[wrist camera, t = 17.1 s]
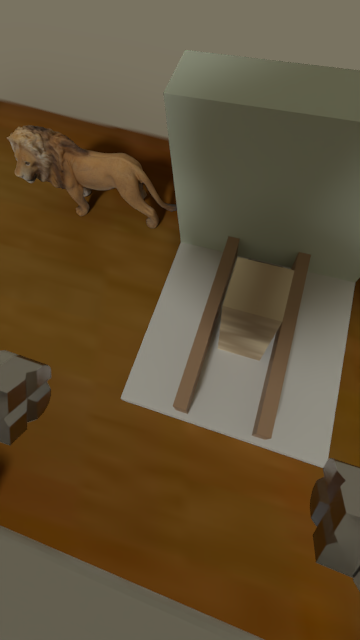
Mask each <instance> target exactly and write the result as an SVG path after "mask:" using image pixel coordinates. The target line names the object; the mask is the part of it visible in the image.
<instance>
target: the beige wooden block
mask: <svg viewBox="0 0 360 640" xmlns="http://www.w3.org/2000/svg"><path fill="white" fill-rule="evenodd" d="M293 274H294V270H291V269H287V268H283V266H278V265H274V264H270V263H266V262H261V261H257V260H253V259H244V258H240V257H238V258H237V261H236V264H235V267H234V270H233V274H232V277H231V280H230V283H229V287H228V290H227V293H226V296H225V300H224V303H223V306H222V315H221V324H220V333H219V342H218V349H221V350H224V351H228V352H231V353H234V354H238V355H241V356H245V357H248V358H252V359H255V360H258V361H260V359H261V357H262V356H263V354H264V352H265V351H266V349H267V347H268V345H269V344H270V342H271V340H272V339H273V337H274V335H275V333H276V332H277V330H278V328H279V327H280V325H281V323H282V321H283V317H284V313H285V308H286V304H287V300H288V295H289V291H290V287H291V283H292V278H293Z"/></svg>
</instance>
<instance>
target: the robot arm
mask: <svg viewBox="0 0 360 640" xmlns="http://www.w3.org/2000/svg"><path fill="white" fill-rule="evenodd" d="M50 378H51V368H50V367H49V366H48V365H46V364H43V363H41V362H38V361H35V360H32V359H29V358H27V357H24V356H21V355H17V354H15V353H12V352H9V351H6V350H4V351H0V442H2V443H5V444H7V445H11V444H12V443H13V442H14V441H15V440H16V439H17V438H18V437H20V436H21V435H22V434H23V433H24V432H25V431H26V430H27V422H30V421H33V420H36V419H38V418H39V417H40V416H41V415H42V414H43V413H44V411H45V409H46V408H47V406H48V404H49V401H50V397H51V389H50V387H49V385H48V383H47V381H48V380H49V379H50ZM323 471H324V477H323V478H321V479H318V480H317V481H316V483H315V485H314V487H313V490H312V494H311V499H310V514H311V519H312V520H313V522H314V523H315V525H316V526H317V528H316V530H315V532H314V534H313V541H314V550H315V558H316V563H318V564H321V565H323V566H326V567H328V568H331V569H333V570H335V571H338V572H340V573H343V574H345V575H347V576H350V577H352V578H354V579H353V581H354V583H355V584H356V586H357V588H358V590H359V591H360V467H357V466H354V465H351V464H348V463H345V462H342V461H339V460H336V459H333V458H330V459H329V460H328V461H327V462H326V464H325V465H324V467H323ZM0 640H264V639H262V638H260V637H257V636H255V635H253V634H250V633H248V632H246V631H243V630H241V629H239V628H237V627H234V626H232V625H230V624H227V623H225V622H223V621H220V620H218V619H216V618H213V617H211V616H209V615H206V614H204V613H202V612H199V611H197V610H195V609H193V608H190V607H188V606H186V605H183V604H181V603H179V602H176V601H174V600H172V599H169V598H167V597H165V596H162V595H160V594H158V593H155V592H153V591H151V590H149V589H146V588H144V587H142V586H139V585H137V584H135V583H132V582H130V581H128V580H125V579H123V578H121V577H118V576H116V575H114V574H111V573H109V572H107V571H105V570H102V569H100V568H98V567H95V566H93V565H91V564H88V563H86V562H84V561H81V560H79V559H77V558H74V557H72V556H70V555H67V554H65V553H63V552H60V551H58V550H56V549H54V548H51V547H49V546H47V545H44V544H42V543H40V542H37V541H35V540H33V539H30V538H28V537H26V536H23V535H21V534H19V533H16V532H14V531H12V530H10V529H7V528H5V527H3V526H0Z"/></svg>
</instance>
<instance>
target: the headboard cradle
mask: <svg viewBox="0 0 360 640" xmlns="http://www.w3.org/2000/svg"><path fill="white" fill-rule="evenodd" d="M164 102H165V110H166V119H167V127H168V136H169V144H170V153H171V161H172V170H173V178H174V187H175V195H176V203H177V212H178V220H179V229H180V237H181V244H180V246H179V249H178V251H177V254H176V256H175V259H174V262H173V264H172V267H171V269H170V272H169V275H168V277H167V280H166V282H165V285H164V287H163V290H162V293H161V295H160V298H159V300H158V303H157V306H156V308H155V311H154V313H153V316H152V318H151V321H150V324H149V326H148V329H147V331H146V334H145V337H144V339H143V342H142V344H141V347H140V349H139V352H138V355H137V357H136V360H135V362H134V365H133V368H132V370H131V373H130V375H129V378H128V380H127V383H126V386H125V388H124V391H123V393H122V396H121V399H122V400H124V401H127V402H129V403H132V404H135V405H138V406H141V407H144V408H147V409H150V410H153V411H156V412H159V413H162V414H165V415H168V416H171V417H174V418H177V419H180V420H183V421H186V422H188V423H191V424H194V425H197V426H200V427H203V428H206V429H209V430H212V431H215V432H218V433H221V434H224V435H227V436H230V437H233V438H236V439H239V440H242V441H245V442H247V443H250V444H253V445H256V446H259V447H262V448H265V449H268V450H271V451H274V452H277V453H280V454H283V455H286V456H289V457H292V458H295V459H298V460H301V461H304V462H306V463H309V464H312V465H315V466H318V467H322V468H323V467H324V465H325V464H326V462H327V461H328V455H329V449H330V442H331V436H332V430H333V423H334V417H335V410H336V404H337V397H338V391H339V384H340V378H341V372H342V365H343V359H344V352H345V346H346V339H347V333H348V326H349V320H350V314H351V307H352V301H353V294H354V288H355V282H356V281H357V280H358V279H359V278H360V71H359V70H351V69H342V68H334V67H325V66H317V65H308V64H300V63H291V62H283V61H274V60H265V59H258V58H249V57H239V56H232V55H223V54H214V53H207V52H198V51H190V50H185V52H184V54H183V56H182V58H181V60H180V61H179V64H178V66H177V68H176V70H175V71H174V73H173V75H172V77H171V79H170V81H169V83H168V85H167V87H166V89H165V91H164ZM238 257H240V258H244V259H253V260H257V261H261V262H266V263H270V264H274V265H278V266H283V268H287V269H291V270H294V274H293V278H292V283H291V287H290V291H289V295H288V300H287V304H286V308H285V313H284V317H283V321H282V323H281V325H280V327H279V328H278V330H277V332H276V333H275V335H274V337H273V339H272V340H271V342H270V344H269V345H268V347H267V349H266V351H265V352H264V354H263V356H262V357H261V359H260V361H258V360H255V359H252V358H248V357H245V356H241V355H238V354H234V353H231V352H228V351H224V350H221V349H218V342H219V333H220V324H221V315H222V306H223V303H224V300H225V296H226V293H227V290H228V287H229V283H230V280H231V277H232V274H233V270H234V267H235V264H236V261H237V258H238Z"/></svg>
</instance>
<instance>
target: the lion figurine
mask: <svg viewBox="0 0 360 640" xmlns="http://www.w3.org/2000/svg"><path fill="white" fill-rule="evenodd" d="M7 139H8V140H9V141H10V143H11V146H12V149H13V151H14V152H15V154H14V155H15V157H16V160H17V166H16V169H15V175H17V176H18V177H21V178H23V179H25V180H26V181H27V182H29V183H33V182H34V181H35V179H36V178H37V179H39V180H40V181H43V182H44V181H48V182H50V183H51V184H52V185H53V186H55V187H57V188H62V189H66V190H67V191H68V193H69V194H70V195H71V197H72V198H73V199H74V200H75V201H76V202H77V203H78V204H79V206H78V207H77V208H76V212H77V214H78V215H79V216H83V215H85V214H87V213H88V211H89V205H88V203H87V201H86V200H85V198H84V196H88V195H89V194H90V193H91V189H94V190H110V189H113V188H117V189H118V191H119V193H120V195H121V196H122V197H123V198H124V199H125V201H126V202H128V203H129V204H130V205H131V206H132V207H133V208H135V209H136V210H138V211H140V212H142V213H144V214H145V215H147V216H148V217H149V218H148V219H147V220H146V222H147V225H148V226H149V227H150V228H155V227H156V226H157V225H158V223H159V217H158V215H157V213H156V211H155V210H154V208H152V207H150V206H149V205H148V204H147V203H146V202H145V201H144V198H145V197H146V196H147V193H146V192H145V190H144V189H143V183H144V184H145V185H146V187H147V189H148V190H149V192H150V194H151V195H152V196H153V198H154V199H155V200H156V202H157V203H158V204H159V205H160V206H161V207H163V208H165V209H167V210H169V211H176V210H177V205H175V204H166V203H164V202H163V201H162V200H161V199H160V197H159V195H158V194H157V192H156V190H155V188H154V186H153V184H152V183H151V181H150V180H149V178H148V177H147V175H146V174H145V172H144V171H143V169H142V166H141V165H140V163H139V162H138V161H137V160H136V159H134V158H133V157H131V156H129V155H127V154H125V153H100V152H95V151H90V150H85V149H82V148H80V147H78V146H77V145H76V144H75V143H74V142H73V141H71V140H70V139H69V138H68V137H66V136H65V135H63V134H61V133H59V132H54V131H52V129H46V128H44V127H38V126H23V127H22V128H21V127H18V128H17V129H16V130H15V131H14V133H11V135H10V137H7Z"/></svg>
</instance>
